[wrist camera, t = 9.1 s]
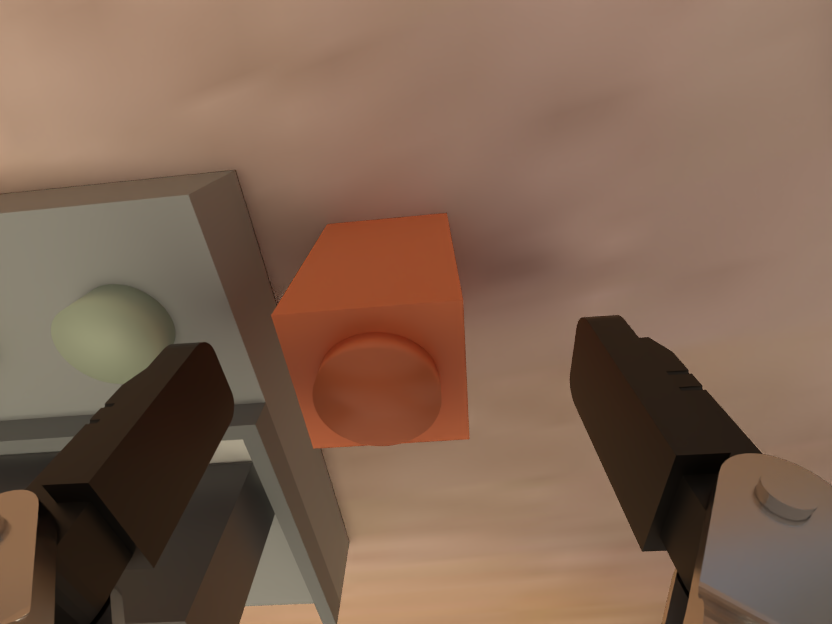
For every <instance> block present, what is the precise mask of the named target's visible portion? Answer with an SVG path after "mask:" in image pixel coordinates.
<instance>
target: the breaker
mask: <svg viewBox="0 0 832 624" xmlns="http://www.w3.org/2000/svg"><path fill="white" fill-rule="evenodd" d="M274 516H275V513H274V510H273V508H272V506H271V503H270V501H269V499H268V497H267V494H266V492H265V490H264V487H263V485H262V483H261V480H260V478H259V476H258V474H257V471H256V469H255V467H254V464H253V462H250V463H234V464H217V465H208V467H207V469H206V471H205V473H204V474H203V476H202V478H201V480H200V482H199V484H198V486H197V488H196V490H195V492H194V493H193V495H192V497H191V499H190V501H189V503H188V505H187V507H186V509H185V511H184V512H183V514H182V516H181V518H180V520H179V522H178V524H177V526H176V528H175V529H174V531H173V533H172V535H171V537H170V539H169V541H168V543H167V545H166V547H165V548H164V550H163V552H162V554H161V556H160V558H159V560H158V562H157V564H156V566H155V567H154V568H151V569H126V570H124V572H123V573H122V575H121V577H120V578H119V580H118V582H117V584H116V585H117V587H118V588H119V589H120V591H121V594H122V599H123V608H124V618H125V624H239V622H240V619H241V616H242V613H243V610H244V607H245V604H246V601H247V598H248V595H249V592H250V589H251V586H252V583H253V580H254V577H255V574H256V571H257V568H258V565H259V562H260V558H261V555H262V552H263V549H264V546H265V543H266V540H267V537H268V534H269V531H270V528H271V525H272V522H273V519H274Z"/></svg>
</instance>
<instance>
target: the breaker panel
mask: <svg viewBox="0 0 832 624" xmlns="http://www.w3.org/2000/svg"><path fill="white" fill-rule="evenodd" d="M276 306H277V305H276V302H275V299H274V295H273V292H272V289H271V286H270V282H269V279H268V276H267V273H266V269H265V266H264V263H263V259H262V256H261V253H260V250H259V246H258V243H257V240H256V237H255V233H254V230H253V227H252V224H251V220H250V217H249V214H248V211H247V207H246V204H245V201H244V198H243V194H242V191H241V188H240V185H239V181H238V178H237V175H236V172H235V170H231V171H221V172H211V173H202V174H192V175H182V176H172V177H163V178H153V179H143V180H133V181H124V182H114V183H104V184H94V185H84V186H75V187H65V188H55V189H45V190H36V191H26V192H16V193H6V194H0V455H15V454H30V453H46V452H60V451H61V450H62V449H63V448H64V447H65V446H66V445H67V444H68V443H69V442H70V440H71V439H72V438H73V437H74V436H75V435H76V434H77V433H78V432H79V431H80V430H81V429H82V428H83V426H84V425H85V424H89V423H90V419H91V418H92V417H93V416H94V415H95V414H96V412H97V411H98V410H99V409H100V408H104V407H105V403H106V402H107V401H108V400H109V398H110V397H111V396H112V395H113V394H114V393H115V392H116V391H117V390H118V389H119V388H120V387H121V386H122V385H123V384H124V383H126V382H127V381H129V380H130V379H131V378H133V377H134V376H136V375H137V374H139V373H140V372H142V371H143V370H145V369H146V368H147V367H148V366H149V365H150V364H151V363H152V362H153V360H154V359H155V358H156V357H157V356H158V355H159V354H160V353H161V351H162V350H163V349H164V348H165V347H166V346H168V345H170V344H180V343H195V342H207V343H209V344H210V345H211V346H212V347H213V349H214V351H215V353H216V355H217V358H218V360H219V362H220V365H221V367H222V370H223V372H224V374H225V377H226V379H227V382H228V384H229V386H230V389H231V391H232V394H233V398H234V414H233V418H232V421H231V423H230V425H229V427H228V429H227V431H226V433H225V435H224V436H223V438H222V440H221V442H220V444H219V446H218V448H217V450H216V452H215V454H214V455H213V457H212V459H211V461H210V463H209V465H217V464H234V463H250V462H253V464H254V467H255V469H256V471H257V474H258V476H259V478H260V480H261V483H262V485H263V487H264V490H265V492H266V494H267V497H268V499H269V501H270V503H271V506H272V508H273V510H274V513H275V516H274V519H273V522H272V525H271V528H270V531H269V534H268V537H267V540H266V543H265V546H264V549H263V552H262V555H261V558H260V562H259V565H258V568H257V571H256V574H255V577H254V580H253V583H252V586H251V589H250V592H249V595H248V598H247V601H246V604H245V606H262V605H287V604H311V603H314V604H315V607H316V609H317V611H318V613H319V616H320V618H321V620H322V623H323V624H337V620H338V614H339V607H340V601H341V594H342V587H343V581H344V574H345V567H346V561H347V554H348V548H349V540H348V536H347V533H346V530H345V527H344V523H343V520H342V517H341V514H340V510H339V507H338V504H337V501H336V497H335V494H334V491H333V487H332V484H331V481H330V478H329V474H328V471H327V468H326V465H325V461H324V458H323V455H322V452H321V448H315V449H313V446H312V443H311V439H310V436H309V433H308V430H307V427H306V424H305V421H304V417H303V414H302V411H301V408H300V405H299V402H298V399H297V395H296V392H295V389H294V386H293V383H292V380H291V377H290V373H289V370H288V367H287V364H286V361H285V358H284V355H283V351H282V348H281V345H280V342H279V339H278V336H277V333H276V329H275V326H274V323H273V320H272V317H271V314H272V313H273V311H274V310H275V308H276Z"/></svg>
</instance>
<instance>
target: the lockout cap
mask: <svg viewBox="0 0 832 624" xmlns="http://www.w3.org/2000/svg"><path fill="white" fill-rule="evenodd" d="M271 317H272V320H273V323H274V326H275V329H276V333H277V336H278V339H279V342H280V345H281V348H282V351H283V355H284V358H285V361H286V364H287V367H288V370H289V373H290V377H291V380H292V383H293V386H294V389H295V392H296V395H297V399H298V402H299V405H300V408H301V411H302V414H303V417H304V421H305V424H306V427H307V430H308V433H309V436H310V439H311V443H312V446H313V449H315V448H332V447H348V446H364V445H371V446H389V445H396V444H401V443H413V442H430V441H446V440H462V439H469V420H468V398H467V376H466V353H465V331H464V309H463V297H462V291H461V286H460V281H459V275H458V270H457V265H456V259H455V254H454V249H453V243H452V238H451V233H450V227H449V222H448V217H447V213H441V214H430V215H420V216H409V217H398V218H387V219H377V220H366V221H355V222H344V223H334V224H327V225H326V227H325V228H324V230H323V232H322V233H321V235H320V237H319V238H318V240H317V241H316V243H315V245H314V246H313V248H312V250H311V251H310V253H309V254H308V256H307V258H306V259H305V261H304V263H303V264H302V266H301V267H300V269H299V271H298V272H297V274H296V276H295V277H294V279H293V280H292V282H291V284H290V285H289V287H288V289H287V290H286V292H285V293H284V295H283V297H282V298H281V300H280V302H279V303H278V305H277V306H276V308H275V310H274V311H273V313H272V314H271Z"/></svg>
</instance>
